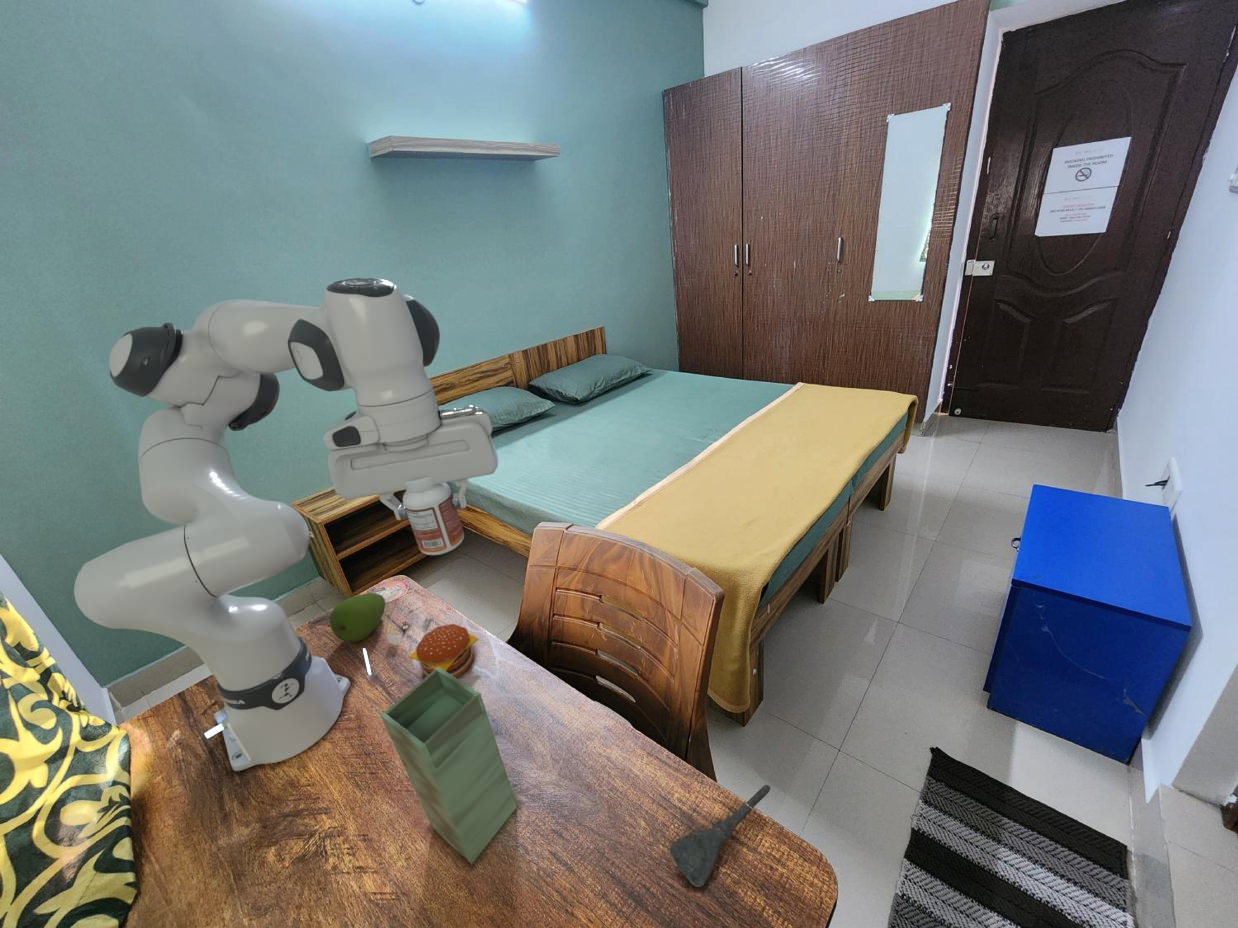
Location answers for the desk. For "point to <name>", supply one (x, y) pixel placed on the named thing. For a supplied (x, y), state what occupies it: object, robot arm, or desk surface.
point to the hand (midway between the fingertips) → (432, 512)
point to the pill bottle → (432, 516)
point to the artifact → (709, 843)
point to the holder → (452, 761)
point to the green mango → (357, 616)
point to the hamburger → (446, 650)
